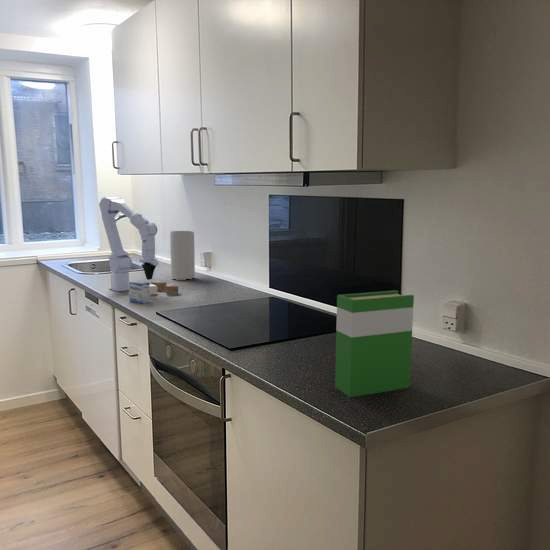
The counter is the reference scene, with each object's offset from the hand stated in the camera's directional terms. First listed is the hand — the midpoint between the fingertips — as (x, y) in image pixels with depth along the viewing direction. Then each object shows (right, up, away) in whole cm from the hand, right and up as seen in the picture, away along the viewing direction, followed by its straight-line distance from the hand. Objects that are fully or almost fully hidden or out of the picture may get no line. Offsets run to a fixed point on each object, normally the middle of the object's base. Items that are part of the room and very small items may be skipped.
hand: (149, 279), depth 272 cm
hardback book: (+83, -27, -121) cm, 149 cm away
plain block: (0, -7, +1) cm, 7 cm away
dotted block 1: (+2, -5, +11) cm, 12 cm away
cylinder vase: (+9, 0, +44) cm, 45 cm away
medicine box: (0, -10, -17) cm, 20 cm away
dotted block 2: (+10, -7, +1) cm, 12 cm away
